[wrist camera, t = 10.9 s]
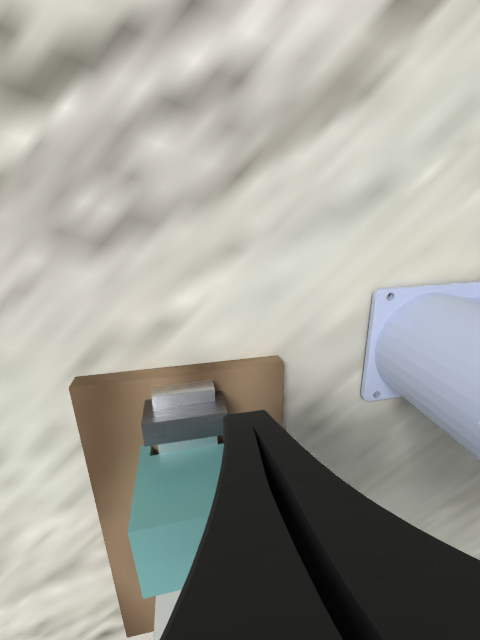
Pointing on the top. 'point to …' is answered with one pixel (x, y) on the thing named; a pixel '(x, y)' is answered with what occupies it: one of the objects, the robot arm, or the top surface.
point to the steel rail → (183, 416)
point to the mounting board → (126, 440)
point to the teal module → (171, 514)
